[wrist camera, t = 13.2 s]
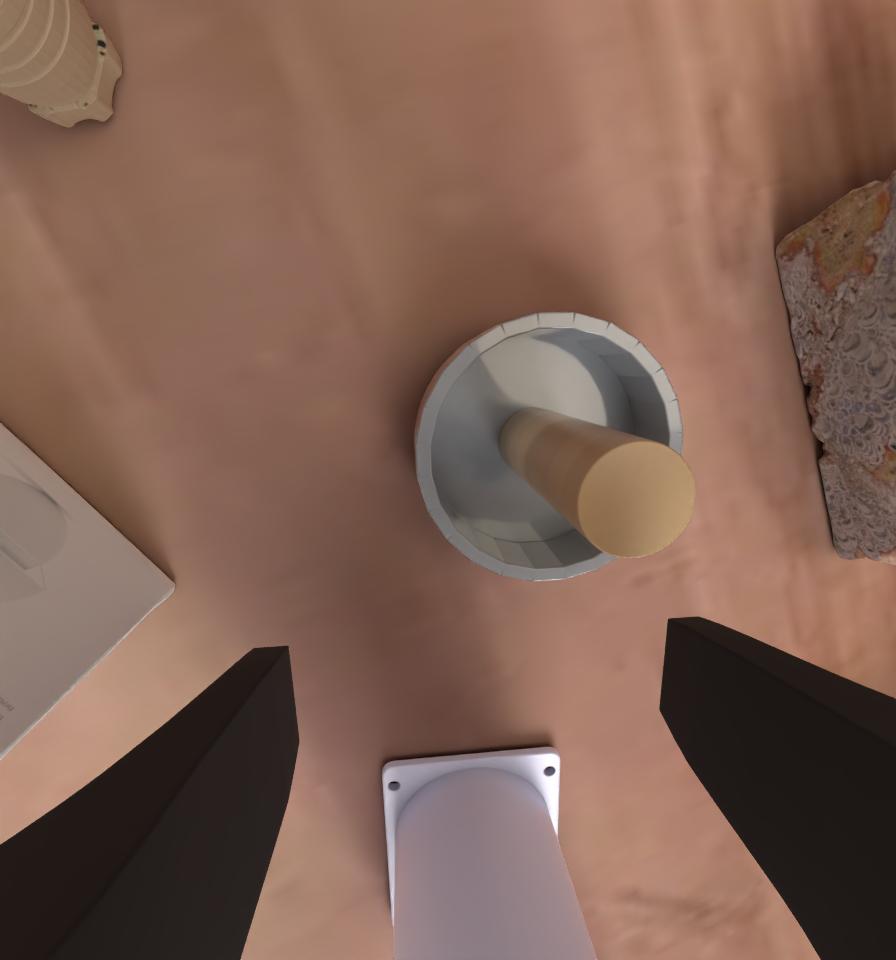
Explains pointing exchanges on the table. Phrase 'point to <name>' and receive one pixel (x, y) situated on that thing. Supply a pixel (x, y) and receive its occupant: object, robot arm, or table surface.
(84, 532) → the cosmetics box
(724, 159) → the table surface
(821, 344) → the geological specimen
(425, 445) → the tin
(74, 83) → the handle
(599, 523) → the stick
